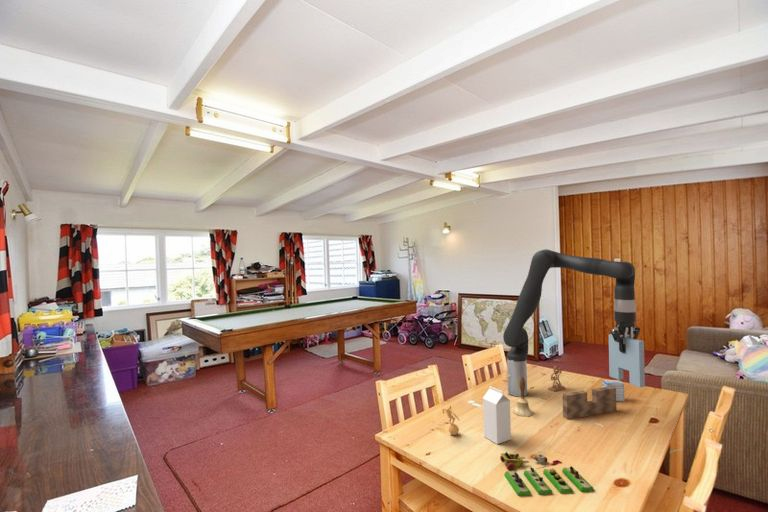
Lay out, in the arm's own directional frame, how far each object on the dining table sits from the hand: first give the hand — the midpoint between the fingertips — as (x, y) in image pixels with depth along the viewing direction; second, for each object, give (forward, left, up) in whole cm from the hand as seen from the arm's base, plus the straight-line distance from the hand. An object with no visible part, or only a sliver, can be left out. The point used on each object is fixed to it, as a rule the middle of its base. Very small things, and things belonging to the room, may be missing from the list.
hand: (625, 351), depth 152 cm
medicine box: (+3, +24, -29) cm, 38 cm away
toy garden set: (-40, -46, -30) cm, 68 cm away
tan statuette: (-20, +34, -29) cm, 50 cm away
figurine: (-69, -26, -29) cm, 80 cm away
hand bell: (-40, +1, -29) cm, 50 cm away
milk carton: (-52, -25, -29) cm, 65 cm away
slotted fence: (-12, +5, -29) cm, 32 cm away
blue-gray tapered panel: (0, 0, -12) cm, 12 cm away
